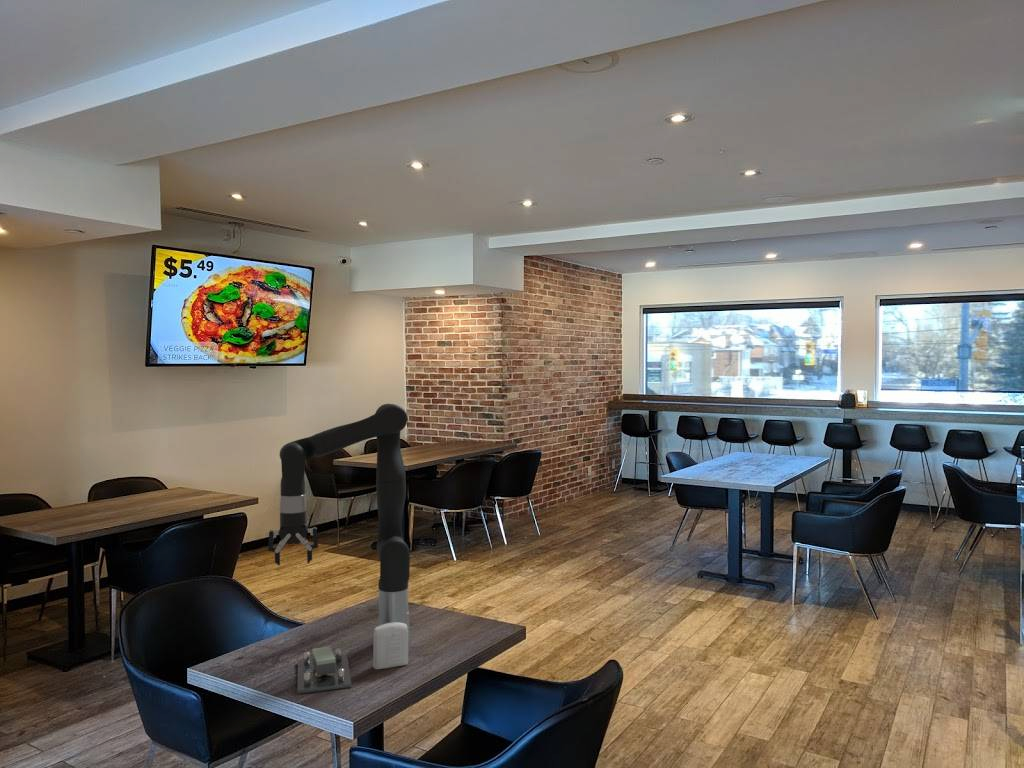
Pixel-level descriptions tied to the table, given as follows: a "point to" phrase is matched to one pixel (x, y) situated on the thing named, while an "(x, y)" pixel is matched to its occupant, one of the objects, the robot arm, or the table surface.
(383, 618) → the robot arm
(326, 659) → the grey green block
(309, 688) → the plate
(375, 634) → the photo printer
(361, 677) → the table surface
